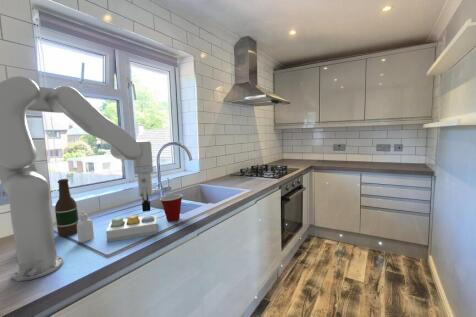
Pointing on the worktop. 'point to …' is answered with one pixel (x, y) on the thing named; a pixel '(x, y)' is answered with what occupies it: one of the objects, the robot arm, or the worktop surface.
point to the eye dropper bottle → (85, 228)
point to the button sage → (117, 222)
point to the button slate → (147, 219)
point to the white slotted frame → (131, 229)
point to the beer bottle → (66, 211)
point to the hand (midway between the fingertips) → (146, 210)
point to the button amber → (133, 220)
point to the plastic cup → (172, 206)
